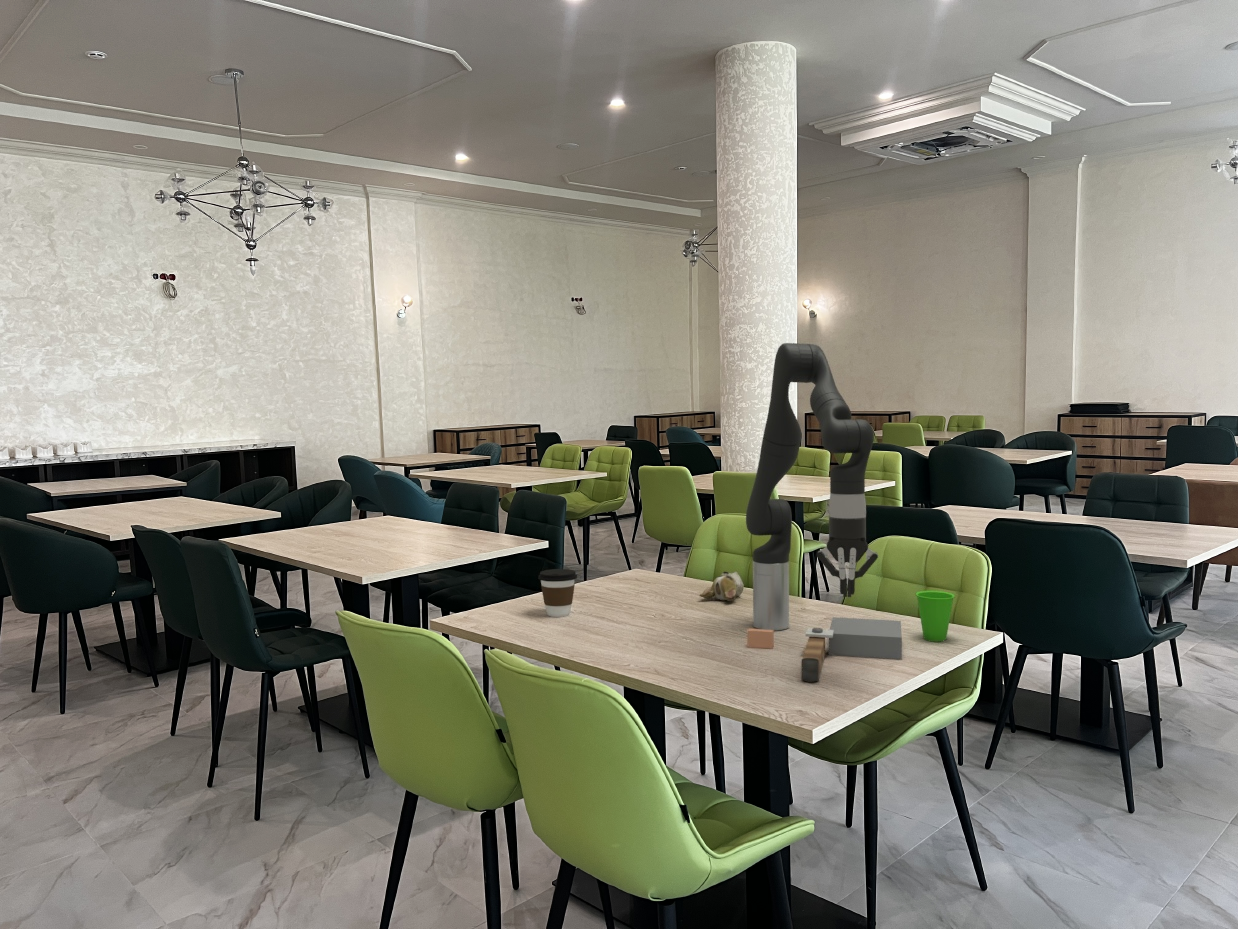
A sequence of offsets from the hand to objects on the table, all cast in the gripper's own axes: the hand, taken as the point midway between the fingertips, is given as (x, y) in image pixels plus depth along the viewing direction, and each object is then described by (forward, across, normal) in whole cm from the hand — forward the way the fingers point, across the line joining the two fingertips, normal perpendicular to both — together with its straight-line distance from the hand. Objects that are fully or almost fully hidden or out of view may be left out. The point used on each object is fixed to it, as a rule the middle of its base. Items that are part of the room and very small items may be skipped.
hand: (847, 596), depth 186 cm
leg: (+17, +7, -5) cm, 19 cm away
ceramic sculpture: (+17, +38, -68) cm, 80 cm away
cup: (+17, -19, -35) cm, 44 cm away
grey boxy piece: (+17, +6, -22) cm, 28 cm away
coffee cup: (+17, +80, -38) cm, 90 cm away
